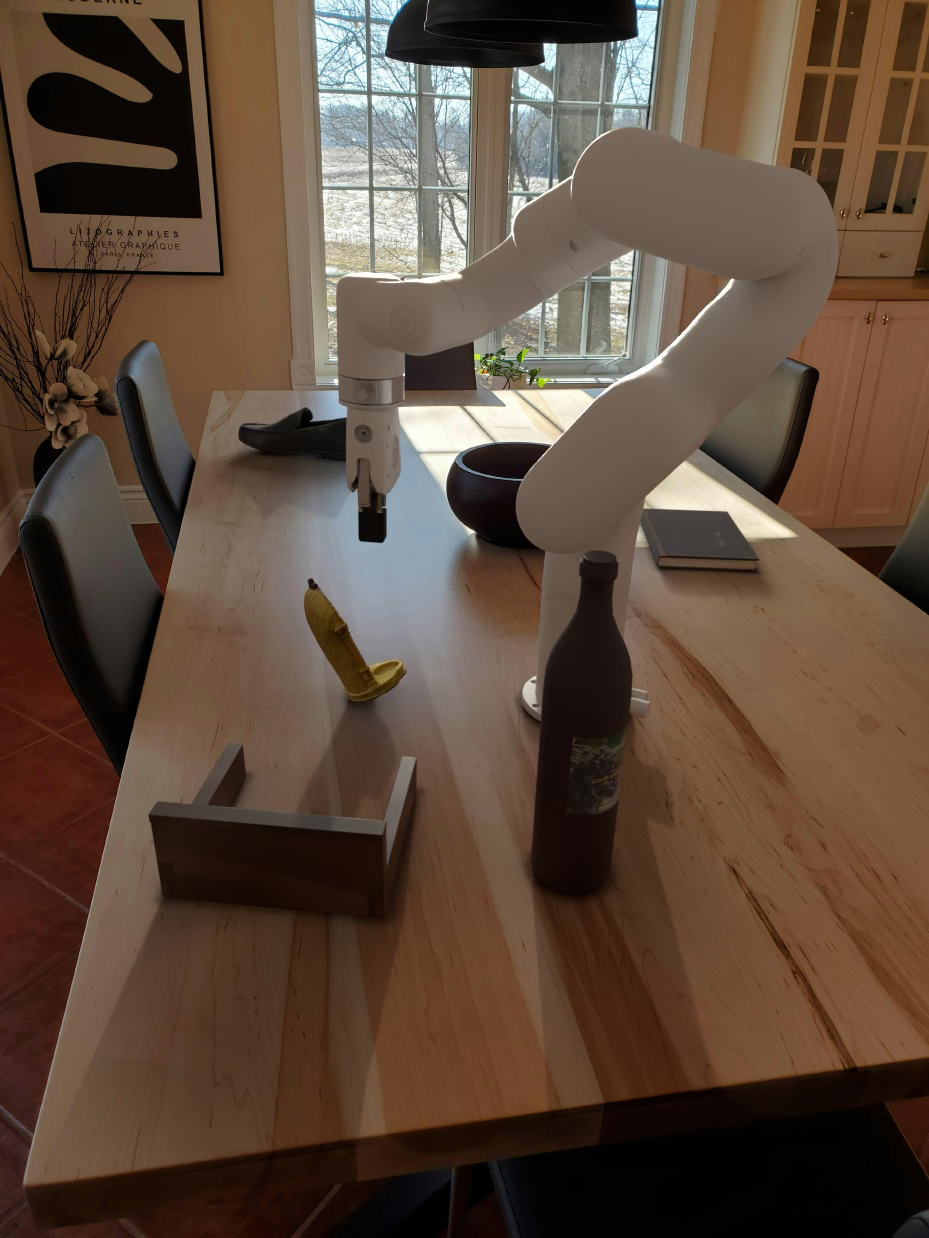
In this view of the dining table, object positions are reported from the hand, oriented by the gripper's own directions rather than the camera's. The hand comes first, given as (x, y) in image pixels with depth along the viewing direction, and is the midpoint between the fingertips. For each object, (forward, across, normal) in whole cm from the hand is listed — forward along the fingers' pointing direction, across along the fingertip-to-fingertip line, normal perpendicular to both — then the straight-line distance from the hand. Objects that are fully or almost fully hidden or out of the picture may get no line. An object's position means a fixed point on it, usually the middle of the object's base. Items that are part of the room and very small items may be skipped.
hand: (372, 539), depth 111 cm
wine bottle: (+15, -39, -26) cm, 49 cm away
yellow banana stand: (+15, -12, -1) cm, 20 cm away
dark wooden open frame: (+15, -38, -1) cm, 40 cm away
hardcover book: (+15, +45, -47) cm, 67 cm away
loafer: (+16, +89, +33) cm, 96 cm away
